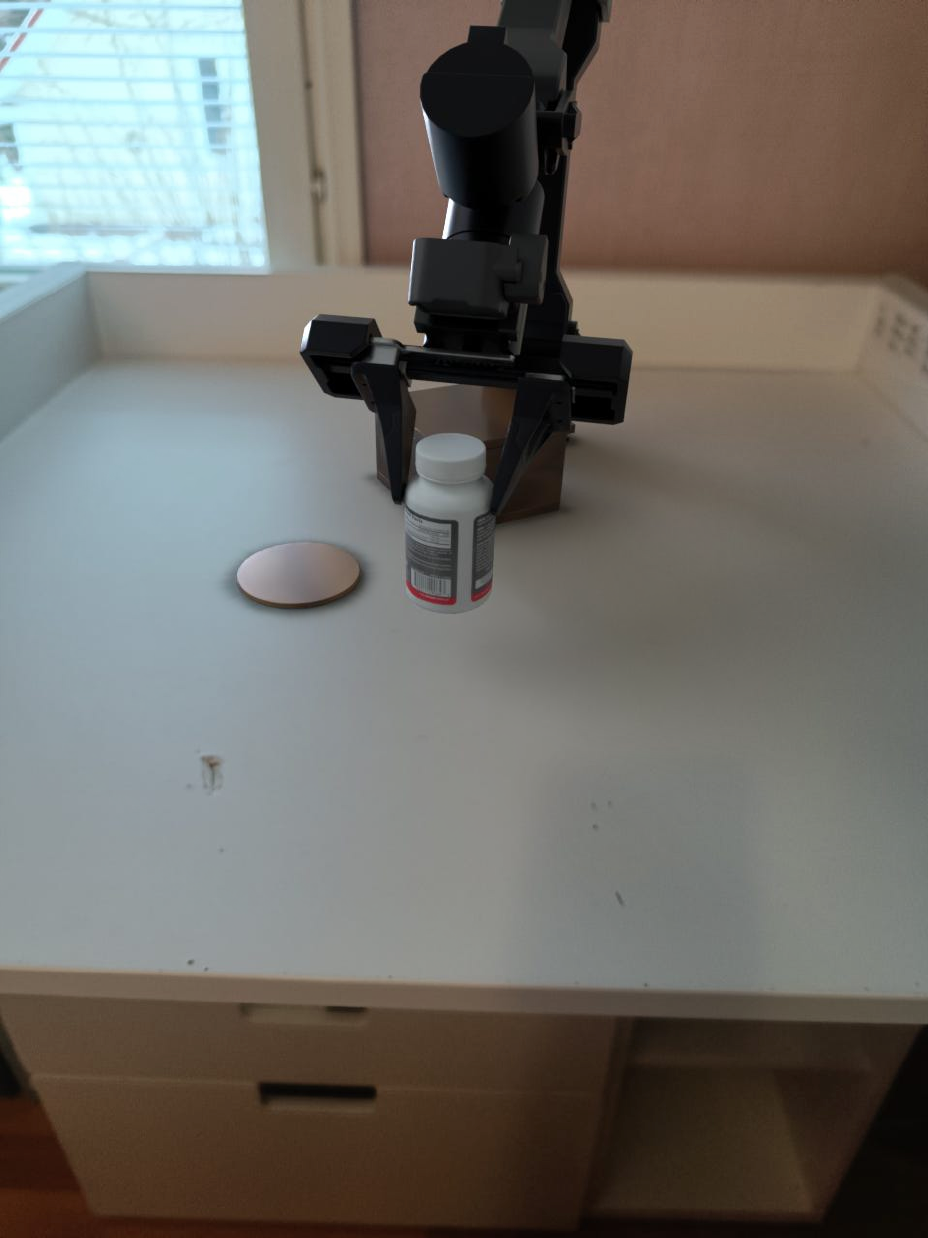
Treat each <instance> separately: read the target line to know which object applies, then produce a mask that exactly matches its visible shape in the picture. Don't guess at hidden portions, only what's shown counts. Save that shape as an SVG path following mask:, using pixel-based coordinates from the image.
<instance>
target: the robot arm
mask: <svg viewBox="0 0 928 1238" xmlns="http://www.w3.org/2000/svg"><path fill="white" fill-rule="evenodd" d="M500 6H501V8H500V12H499V14H498V20H497V23H496V25H476V24H475V25H473V24H471V25H469V28H468V34H467V38H466V39H467V40H466V42H463V43H461V44H459V45H458V44H457V45H455V46H453V47H451V48H449V49H447V50H446V51H445V52H444V53H442V54H440V55H439V56H438V57H437V58H436V59H435V60H434V61H433V63H432V64H431V65H430V66H429V67H428V69H427V71H426V72H424V73H423V75H422V77H421V80H420V84H419V100H420V104H421V105H420V106H421V109H422V114H423V118H424V123H425V128H426V134H427V137H428V141H429V147H430V151H431V156H432V161H433V164H434V170H435V174H436V179H437V183H438V187H439V190H440V192H441V195H442V196H443V197H444V198H446V199H448V203H447V210H446V216H445V221H444V226H443V232H442V237H441V238H438V237H416V238H415V239H413V241H412V242H413V243H412V253H411V254H412V255H411V262H410V263H411V265H410V274H409V285H408V296H407V304H408V305H409V307H415V310H414V311H415V312H414V315H413V316H414V317H413V325H414V328H415V331H416V333H417V334H424V335H423V336H424V337H423V341H422V342H423V343H422V345H413V344H404V343H402V342H401V341H399V340H398V339H395V338H389V337H383V334H382V332H381V330H380V328H379V325H378V323H377V321H376V318H374V317H363V316H362V317H361V316H350V315H338V314H327V313H319V314H317V315H316V316H315V317H313V318H312V319H311V320H310V321H309V322H308V323H307V325H306V326H304V329H303V334H302V340H301V344H300V349H299V355H300V357H301V358H302V360H303V362H304V363H305V365H306V366H307V368H308V370H309V371H310V373H311V375H312V377H313V378H314V380H315V381H316V382H317V384H318V386H319V387H320V389H321V391H322V392H323V393H324V394H325V395H327V396H330V397H332V398H335V399H344V400H345V399H346V400H356V401H363V402H364V403H365V404H364V405H365V406H366V408H367V409H368V411H369V412H371V413H373V414H375V413H377V414H378V417H379V420H380V424H381V428H382V434H383V440H384V447H385V454H386V461H387V468H388V475H389V481H390V488H391V491H390V494H391V495H390V496H391V500H392V501H393V503H394V504H395V505H398V506H402V505H403V499H404V494H405V488H406V486H407V484H408V477H409V469H410V461H411V453H412V445H413V437H414V429H415V420H416V412H417V411H416V408H415V406H414V403H413V401H412V398H411V396H410V393H409V392H410V390H409V388H411V387H412V382H413V381H420V382H421V381H422V382H431V383H442V384H452V385H457V384H463V385H474V386H485V387H495V388H506V389H516V395H515V401H514V408H513V413H512V418H511V422H510V425H509V429H508V433H507V436H506V440H505V444H504V447H503V451H502V455H501V458H500V462H499V466H498V469H497V473H496V477H495V481H494V485H493V492H492V499H491V507H490V511H491V515H492V516H498V515H499V514H500V512H501V511H502V509H503V507H504V506H505V504H506V502H507V500H508V499H509V497H510V495H511V494H512V492H513V490H514V488H515V487H516V485H517V483H518V482H519V480H520V478H521V477H522V475H523V473H524V472H525V470H526V468H527V467H528V465H529V463H530V462H531V461H532V459H533V458H534V457H535V456H536V454H537V453H538V452H539V451H540V449H541V448H542V447H543V445H544V444H545V443H546V442H547V440H548V439H549V438H550V437H551V435H552V434H553V433H555V432H568V431H570V429H571V424H572V422H578V423H589V424H599V425H608V426H616V425H619V424H623V423H624V420H625V413H626V406H627V400H628V393H629V384H630V378H631V372H632V371H631V369H632V363H633V355H634V354H633V353H634V351H633V349H632V348H631V347H630V345H629V343H628V342H627V341H626V339H622V338H610V337H597V336H586V335H582V334H581V333H580V328H579V321H578V320H573V311H574V310H573V308H574V299H573V296H572V294H571V292H570V290H569V287H568V284H567V283H566V281H565V278H564V275H563V274H562V272H561V258H562V249H563V240H564V239H563V238H564V228H565V217H566V206H567V194H568V184H569V175H570V174H569V173H570V162H571V153H572V152H571V151H573V149H574V148H573V147H574V141H575V140H576V139H578V137H579V136H580V135H581V128H582V119H583V112H581V110H580V109H579V107H578V100H576V99H577V89H578V84H579V82H580V81H581V79H582V77H583V76H584V74H585V72H586V71H587V70H588V68H589V66H590V65H591V63H592V61H593V60H594V58H595V57H596V55H597V53H598V52H599V50H600V44H601V37H602V35H601V34H602V27H603V23H605V24H606V23H610V22H611V21H610V20H611V15H612V7H613V0H500ZM566 435H567V438H566V443H567V442H569V441H570V434H566Z"/></svg>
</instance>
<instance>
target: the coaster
mask: <svg viewBox="0 0 928 1238" xmlns="http://www.w3.org/2000/svg"><path fill="white" fill-rule="evenodd" d="M360 578H361V568H360V564H359V561H358V560H357V559H356V558H355V556H354V555H353V554H351V553H349V552H348V551H347V550H345V549H343V548H340V547H338V546H336V545H332V544H328V543H322V542H313V541H297V542H289V543H288V542H287V543H282V544H277V545H273V546H269V547H266V548H263V549H261V550H259V551H257V552H255V553H253V554H251V555H250V556H248V557H247V558H246V559H245V560H244V561H243V562H242V563H241V564H240V566H239V568H238V570H237V572H236V582H237V586H238V588H239V590H240V592H241V593H242V594H243V595H244V596H246V597H247V598H248V599H250V600H252V601H254V602H256V603H259V604H261V605H264V606H269V607H272V608H273V607H274V608H279V609H303V608H305V609H306V608H312V607H313V608H314V607H317V606H322V605H324V604H325V605H326V604H329V603H332V602H334V601H336V600H338V599H340V598H342V597H344V596H346V595H347V594H349V593H350V592H352V590H353V589H354V588H355V587H356V586H357V584H358V582H359V580H360Z"/></svg>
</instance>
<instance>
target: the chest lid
mask: <svg viewBox="0 0 928 1238" xmlns="http://www.w3.org/2000/svg"><path fill="white" fill-rule="evenodd" d="M409 393H410V396H411V398H412V401H413V403H414V406H415V408H416V411H417V412H416V420H415V429H414V436H415V437H416V438H417V439H418V440H422V439H423V438H425V437H428V436H431V435H435V434H442V433H459V434H465V435H469V436H472V437H475V438H477V439H479V440H481V441H482V442H483V443H484V444H485V447H486V449H492V448H497V447H502V446H504V444H505V440H506V436H507V433H508V429H509V425H510V422H511V418H512V413H513V408H514V401H515V395H516V389H506V388H495V387H485V386H474V385H463V384H451V385H445V386H438V387H431V388H425V389H418V390H417V389H416V390H411V391H410V390H409ZM575 433H576V423H575V422H574V421H572V424H571V429H570V431H568V432H555V433H553V434H552V435H551V437H556V436H561V435H566V434H567V435H572V434H575Z"/></svg>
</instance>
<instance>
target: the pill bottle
mask: <svg viewBox="0 0 928 1238" xmlns="http://www.w3.org/2000/svg"><path fill="white" fill-rule="evenodd" d="M415 464H416V471H417V473H418V474H417V475H415V476H414V477H413V478H412V479H411V480H410V481H409V482H408V484H407V486H406V488H405V494H404V503H403V504H404V506H403V509H404V550H405V554H404V555H405V558H404V559H405V589H406V594H407V596H408V598H409V599H410V600H411V601H412V603H413V604H415V606H418V607H419V608H421V609H423V610H426V611H429V612H432V613H437V614H442V615H444V614H445V615H457V614H463V613H467V612H470V611H473V610H475V609H478V608H480V607H481V606H482V605H484V604H485V603H486V602H487V601H488V600H489V599H490V597H491V595H492V591H493V590H492V589H493V579H494V559H495V557H494V556H495V536H496V535H495V533H496V524H495V518H496V516H492V515H491V511H490V507H491V499H492V492H493V483H492V482H491V480H490V479H489V478H488V477H486V476H485V475H484V473H485V469H486V466H487V463H486V447H485V444H484V443H483V442H482V441H481V440H479V439H477V438H475V437H472V436H469V435H465V434H459V433H442V434H435V435H431V436H428V437H425V438H423V439H422V440H420V441H419V442H418V443H417V445H416V463H415Z"/></svg>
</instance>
